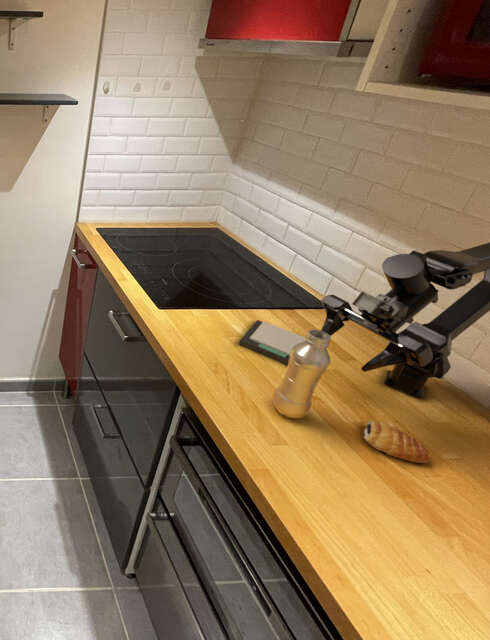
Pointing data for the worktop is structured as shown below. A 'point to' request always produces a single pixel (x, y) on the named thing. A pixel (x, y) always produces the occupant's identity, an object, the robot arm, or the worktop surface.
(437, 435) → the worktop surface
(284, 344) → the scale
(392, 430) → the pastry
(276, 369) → the worktop surface
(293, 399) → the plastic bottle
